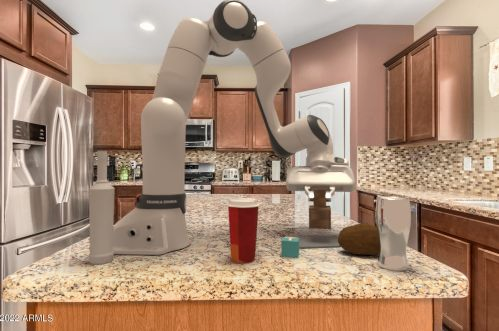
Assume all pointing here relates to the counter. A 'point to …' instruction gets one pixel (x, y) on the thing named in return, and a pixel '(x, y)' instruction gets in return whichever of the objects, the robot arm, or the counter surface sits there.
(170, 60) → the robot arm
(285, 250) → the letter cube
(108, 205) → the bottle
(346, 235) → the potato
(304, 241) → the grey mat
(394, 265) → the beer glass
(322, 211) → the walnut cover
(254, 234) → the paper cup
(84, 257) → the counter surface
